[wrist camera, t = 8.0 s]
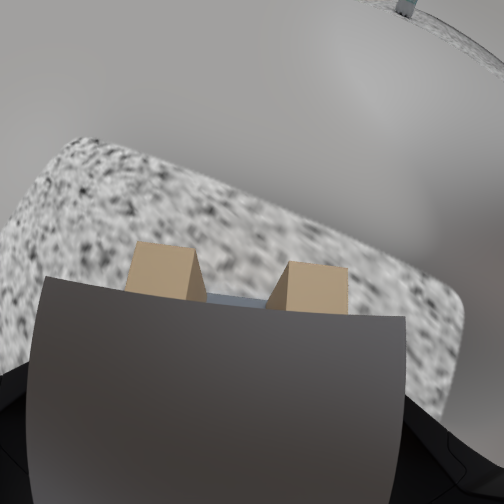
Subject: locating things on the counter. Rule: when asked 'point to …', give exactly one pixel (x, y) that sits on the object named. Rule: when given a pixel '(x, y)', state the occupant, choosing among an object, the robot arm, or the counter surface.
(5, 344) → the counter surface
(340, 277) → the base with wooden posts
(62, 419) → the rail end
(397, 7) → the bottle
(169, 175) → the counter surface
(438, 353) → the counter surface
